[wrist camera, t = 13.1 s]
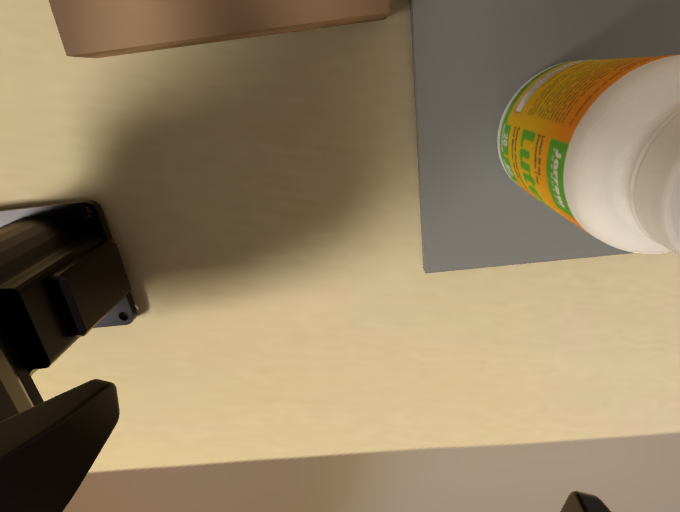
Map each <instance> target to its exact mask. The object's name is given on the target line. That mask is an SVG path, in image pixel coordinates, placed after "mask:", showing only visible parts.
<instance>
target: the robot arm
mask: <svg viewBox="0 0 680 512" xmlns="http://www.w3.org/2000/svg"><path fill="white" fill-rule="evenodd" d="M86 207H88V208H89V209H91V211H92V215H90V214H88V212H87V211H86ZM130 289H131V288H130V285H129V282H128V279H127V276H126V273H125V270H124V267H123V264H122V261H121V258H120V255H119V252H118V249H117V246H116V244H115V243H114V242H113V240H112V237H111V234H110V231H109V228H108V225H107V222H106V220H105V217H104V214H103V211H102V208H101V206H100V205H99V204H98V203H97V202H95V201H93V200H81V201H72V202H63V203H55V204H46V205H37V206H28V207H20V208H11V209H2V210H0V512H62V511H63V510H64V509H65V507H66V505H67V504H68V503H69V501H70V500H71V498H72V497H73V496H74V494H75V492H76V491H77V489H78V488H79V486H80V485H81V483H82V481H83V479H84V478H85V476H86V474H87V473H88V471H89V469H90V468H91V466H92V464H93V463H94V461H95V459H96V458H97V456H98V454H99V453H100V451H101V449H102V448H103V446H104V444H105V443H106V441H107V439H108V438H109V436H110V434H111V433H112V431H113V429H114V427H115V426H116V424H117V422H118V419H119V404H118V396H117V389H116V386H115V385H114V383H112V382H108V381H103V380H99V379H94V380H91V381H89V382H86V383H84V384H82V385H80V386H78V387H75V388H73V389H71V390H69V391H67V392H64V393H62V394H60V395H58V396H56V397H54V398H51V399H49V400H47V401H45V402H44V401H43V399H42V397H41V395H40V393H39V391H38V390H37V388H36V386H35V384H34V382H33V380H32V378H31V375H32V374H33V373H35V372H36V371H37V370H38V369H42V368H47V367H49V366H50V365H51V364H52V363H53V362H54V361H55V360H56V359H58V358H59V357H60V356H61V355H62V354H63V353H64V352H65V351H66V350H67V349H68V348H69V347H70V346H71V345H72V344H73V343H74V342H75V341H76V340H77V339H78V338H79V337H80V336H84V335H86V334H87V333H88V332H89V331H90V330H91V329H92V328H97V327H108V326H118V325H127V324H130V323H131V322H132V321H133V320H134V319H135V318H136V316H137V311H136V308H135V305H134V302H133V299H132V296H131V293H130ZM122 312H125V313H127V314H128V316H129V317H128V316H125V315H124V314H123V313H122ZM561 512H611V511H610V510H609V509H608V507H607V506H606V505H605V504H604V503H603V502H602V501H601V500H600V499H599V498H598V497H597V496H594V495H591V494H587V493H583V492H578V491H573V492H571V493H570V495H569V496H568V498H567V500H566V502H565V504H564V506H563V508H562V509H561Z"/></svg>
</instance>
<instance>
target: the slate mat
mask: <svg viewBox="0 0 680 512" xmlns="http://www.w3.org/2000/svg"><path fill="white" fill-rule="evenodd" d="M410 5H411V26H412V46H413V67H414V87H415V108H416V128H417V149H418V169H419V190H420V210H421V231H422V251H423V269H424V271H425V273H433V272H444V271H454V270H464V269H474V268H484V267H495V266H505V265H515V264H525V263H535V262H546V261H556V260H566V259H576V258H587V257H597V256H607V255H617V254H627V253H633V252H628V251H624V250H621V249H618V248H615V247H612V246H610V245H608V244H606V243H604V242H602V241H601V240H599V239H597V238H595V237H594V236H592V235H590V234H589V233H587V232H586V231H584V230H583V229H581V228H580V227H578V226H577V225H575V224H574V223H572V222H571V221H569V220H568V219H566V218H565V217H563V216H562V215H560V214H559V213H557V212H556V211H554V210H553V209H551V208H550V207H548V206H547V205H545V204H544V203H542V202H541V201H539V200H538V199H536V198H535V197H533V196H532V195H530V194H529V193H527V192H526V191H524V190H523V189H522V188H520V187H519V186H518V185H517V184H516V183H515V182H514V181H513V180H512V179H511V178H510V177H509V176H508V174H507V173H506V171H505V170H504V168H503V166H502V163H501V161H500V158H499V154H498V147H497V135H498V128H499V124H500V120H501V117H502V115H503V112H504V110H505V108H506V106H507V104H508V103H509V101H510V100H511V98H512V97H513V95H514V94H515V93H516V92H517V90H518V89H519V88H520V87H521V86H522V85H523V84H524V83H525V82H526V81H528V80H529V79H530V78H532V77H533V76H534V75H536V74H537V73H539V72H541V71H543V70H545V69H547V68H549V67H552V66H554V65H557V64H560V63H565V62H570V61H578V60H596V59H597V60H600V59H617V58H634V57H651V56H667V55H680V0H410Z"/></svg>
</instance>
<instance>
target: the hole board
mask: <svg viewBox="0 0 680 512" xmlns="http://www.w3.org/2000/svg"><path fill="white" fill-rule="evenodd" d="M49 3H50V6H51V9H52V12H53V15H54V18H55V21H56V24H57V27H58V30H59V33H60V36H61V40H62V43H63V46H64V49H65V52H66V55H67V56H73V57H87V58H100V57H108V56H115V55H123V54H130V53H137V52H145V51H152V50H160V49H167V48H174V47H182V46H189V45H197V44H204V43H211V42H219V41H226V40H234V39H241V38H248V37H256V36H263V35H271V34H278V33H285V32H293V31H300V30H308V29H315V28H322V27H330V26H337V25H345V24H352V23H359V22H367V21H374V20H382V19H386V18H387V16H388V15H389V13H390V2H389V0H49Z"/></svg>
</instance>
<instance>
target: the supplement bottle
mask: <svg viewBox="0 0 680 512" xmlns="http://www.w3.org/2000/svg"><path fill="white" fill-rule="evenodd" d="M497 147H498V154H499V158H500V161H501V163H502V166H503V168H504V170H505V171H506V173H507V174H508V176H509V177H510V178H511V179H512V180H513V181H514V182H515V183H516V184H517V185H518V186H519V187H520V188H522V189H523V190H524V191H526V192H527V193H529V194H530V195H532V196H533V197H535V198H536V199H538V200H539V201H541V202H542V203H544V204H545V205H547V206H548V207H550V208H551V209H553V210H554V211H556V212H557V213H559V214H560V215H562V216H563V217H565V218H566V219H568V220H569V221H571V222H572V223H574V224H575V225H577V226H578V227H580V228H581V229H583V230H584V231H586V232H587V233H589V234H590V235H592V236H594V237H595V238H597V239H599V240H601V241H602V242H604V243H606V244H608V245H610V246H612V247H615V248H618V249H621V250H624V251H628V252H633V253H642V254H662V253H669V252H674V253H676V254H678V255H680V55H667V56H651V57H634V58H617V59H600V60H597V59H596V60H578V61H570V62H565V63H560V64H557V65H554V66H552V67H549V68H547V69H545V70H543V71H541V72H539V73H537V74H536V75H534V76H533V77H532V78H530V79H529V80H528V81H526V82H525V83H524V84H523V85H522V86H521V87H520V88H519V89H518V90H517V92H516V93H515V94H514V95H513V97H512V98H511V100H510V101H509V103H508V104H507V106H506V108H505V110H504V112H503V115H502V117H501V120H500V124H499V128H498V135H497Z"/></svg>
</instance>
